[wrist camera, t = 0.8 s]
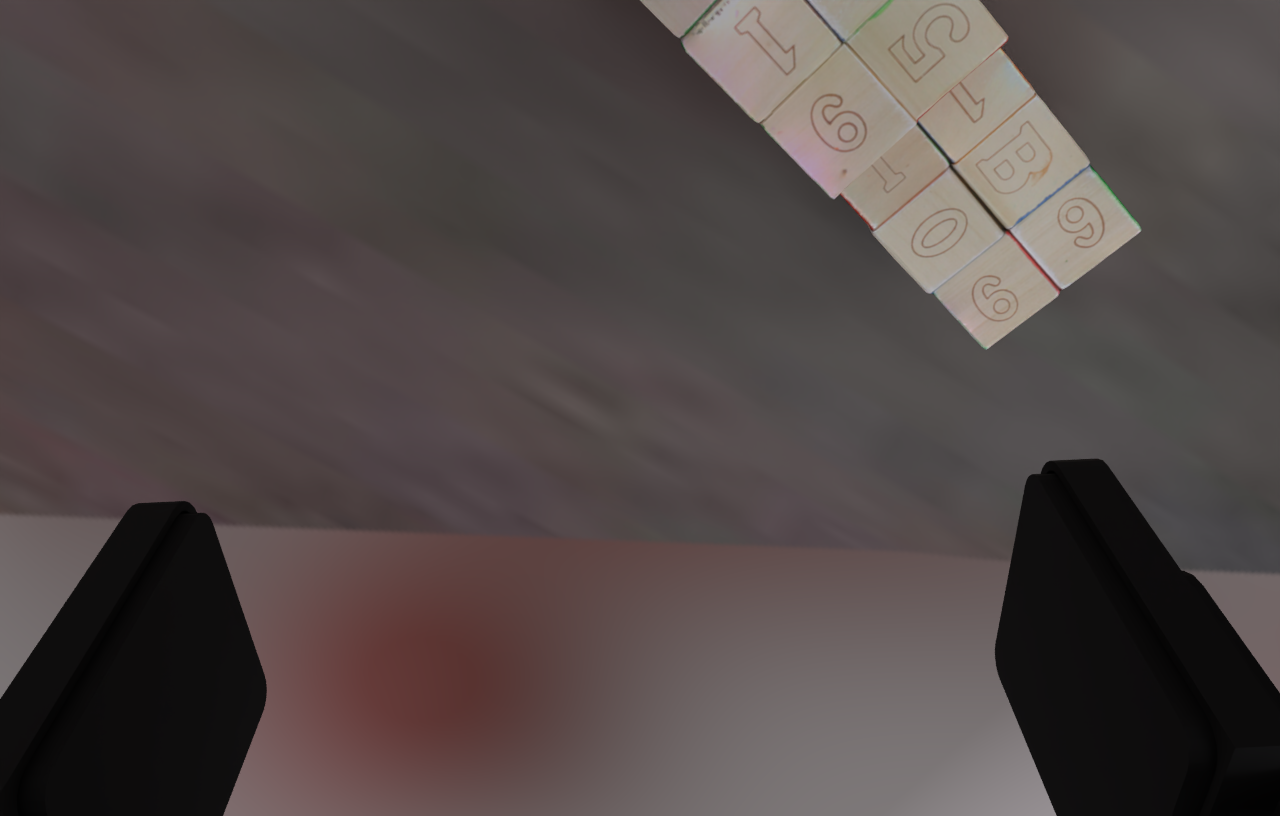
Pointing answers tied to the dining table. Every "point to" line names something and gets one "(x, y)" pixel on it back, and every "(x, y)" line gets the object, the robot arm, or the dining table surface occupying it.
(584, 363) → the dining table surface
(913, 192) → the stack of blocks
